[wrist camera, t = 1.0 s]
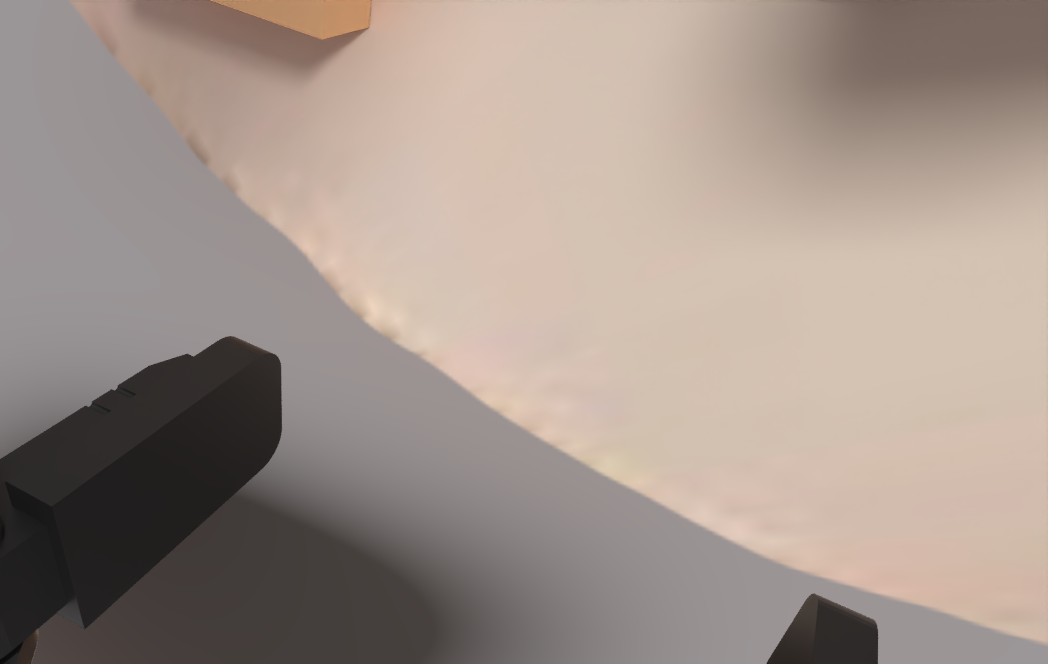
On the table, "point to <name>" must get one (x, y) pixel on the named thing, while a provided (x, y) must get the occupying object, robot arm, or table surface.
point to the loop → (309, 14)
